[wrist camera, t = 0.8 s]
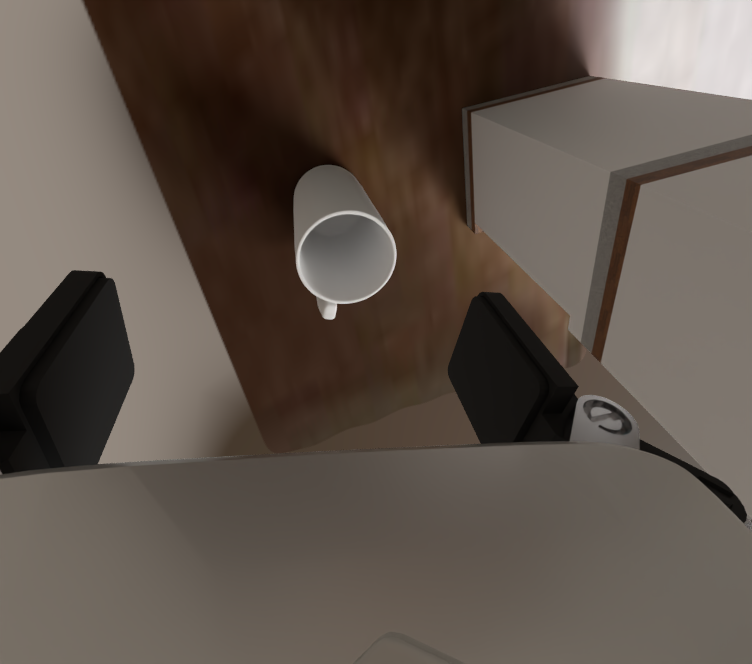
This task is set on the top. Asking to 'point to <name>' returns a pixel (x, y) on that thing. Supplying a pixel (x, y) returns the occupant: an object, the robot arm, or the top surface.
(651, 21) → the top surface
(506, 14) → the top surface
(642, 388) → the white block
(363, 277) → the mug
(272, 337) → the top surface
